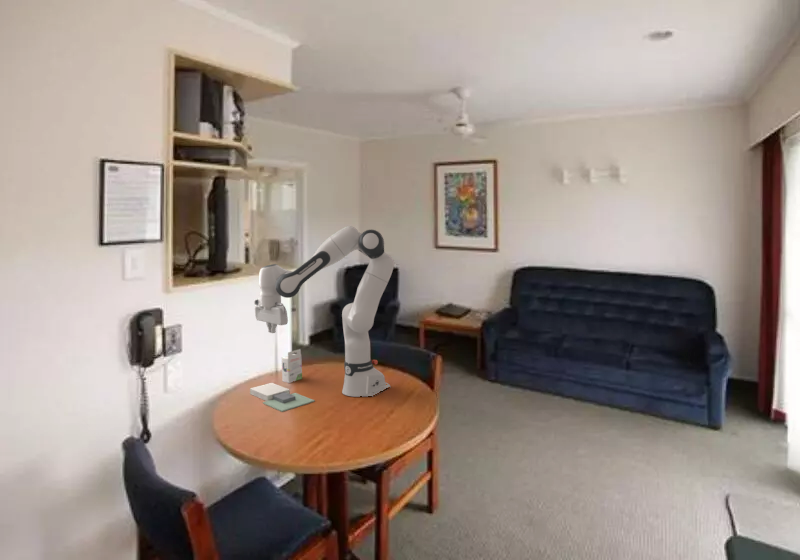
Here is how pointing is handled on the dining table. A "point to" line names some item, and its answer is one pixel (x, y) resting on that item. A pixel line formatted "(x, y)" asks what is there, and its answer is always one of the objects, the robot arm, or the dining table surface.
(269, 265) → the robot arm
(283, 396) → the slate coaster
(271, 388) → the stand
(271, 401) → the mat
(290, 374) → the ink box
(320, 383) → the dining table surface
